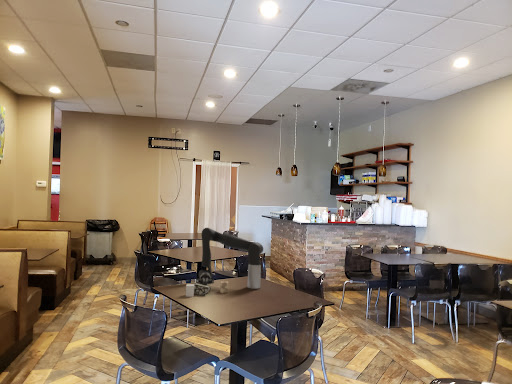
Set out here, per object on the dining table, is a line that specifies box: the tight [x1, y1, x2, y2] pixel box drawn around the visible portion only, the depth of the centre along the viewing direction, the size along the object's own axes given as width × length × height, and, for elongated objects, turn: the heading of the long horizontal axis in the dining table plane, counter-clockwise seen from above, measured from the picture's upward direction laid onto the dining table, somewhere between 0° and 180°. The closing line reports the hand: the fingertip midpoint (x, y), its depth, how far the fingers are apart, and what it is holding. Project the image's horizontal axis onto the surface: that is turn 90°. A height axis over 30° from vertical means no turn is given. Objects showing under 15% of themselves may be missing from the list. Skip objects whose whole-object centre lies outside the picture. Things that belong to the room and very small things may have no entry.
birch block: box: [219, 280, 229, 294], centre depth 250 cm, size 5×5×7 cm
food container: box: [193, 283, 212, 296], centre depth 242 cm, size 12×6×10 cm
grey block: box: [185, 283, 195, 298], centre depth 235 cm, size 5×5×7 cm
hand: (205, 283), depth 244 cm, fingers closed
